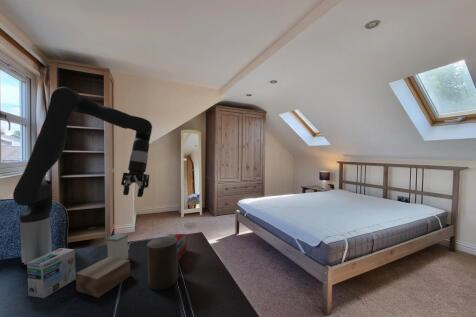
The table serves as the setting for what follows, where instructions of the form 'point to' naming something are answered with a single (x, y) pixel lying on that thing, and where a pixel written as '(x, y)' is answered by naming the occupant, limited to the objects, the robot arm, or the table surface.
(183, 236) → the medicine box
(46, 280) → the light bulb box
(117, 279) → the walnut block
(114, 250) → the pale grey tall block
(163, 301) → the table surface
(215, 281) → the table surface
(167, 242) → the pillar candle
